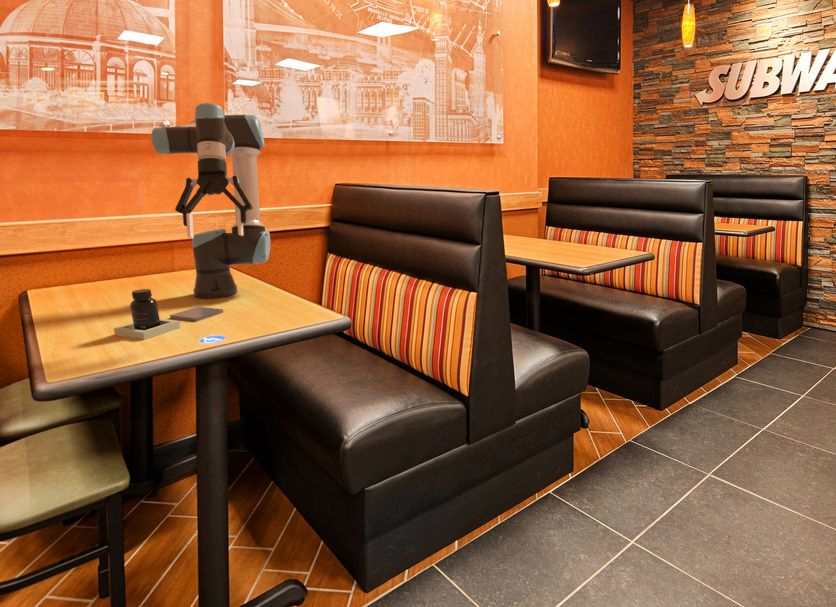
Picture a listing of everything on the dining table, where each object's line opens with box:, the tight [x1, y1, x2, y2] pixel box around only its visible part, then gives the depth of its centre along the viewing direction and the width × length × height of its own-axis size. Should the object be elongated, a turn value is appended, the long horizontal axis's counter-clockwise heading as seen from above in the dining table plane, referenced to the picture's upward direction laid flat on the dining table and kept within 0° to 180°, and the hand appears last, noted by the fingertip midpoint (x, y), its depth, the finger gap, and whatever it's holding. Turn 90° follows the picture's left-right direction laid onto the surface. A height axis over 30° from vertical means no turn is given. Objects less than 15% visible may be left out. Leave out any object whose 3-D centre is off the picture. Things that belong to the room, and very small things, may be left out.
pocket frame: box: [113, 318, 181, 340], centre depth 155 cm, size 12×12×2 cm
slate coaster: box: [169, 306, 224, 322], centre depth 171 cm, size 11×11×1 cm
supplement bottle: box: [129, 288, 161, 330], centre depth 154 cm, size 7×7×12 cm
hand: (215, 236), depth 150 cm, fingers open, 13 cm apart
